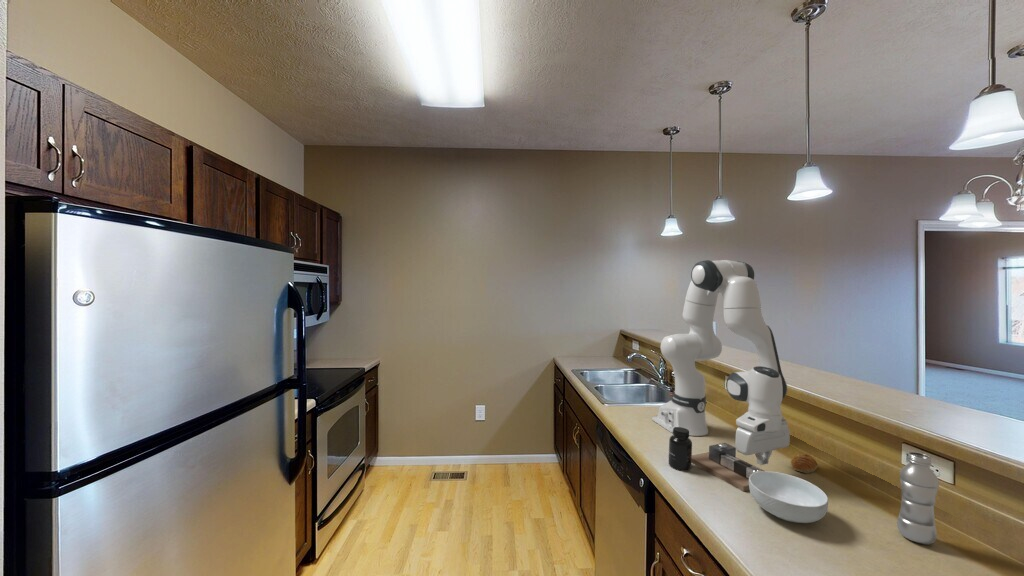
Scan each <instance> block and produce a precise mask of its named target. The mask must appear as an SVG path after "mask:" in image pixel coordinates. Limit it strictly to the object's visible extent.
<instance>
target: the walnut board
mask: <svg viewBox="0 0 1024 576" xmlns="http://www.w3.org/2000/svg"><path fill="white" fill-rule="evenodd" d="M736 458H737V459H739V460H742V461H744V462H746V463H748V464H750V465H752V466H753V467H756V468H758V469H760V470H761V471H765V470H764V469H762V468H760V467H757V466H756V465H754V464H752V463H750V462H747V461H745V460H743V459H741V458H739V457H737V456H736ZM691 464H693V465H694V464H695V465H694V466H696V467H698V468H700V469H701V470H703V469H704V470H703V471H705V472H707V473H709V474H710V475H713V476H715V477H716V478H718V479H720V480H721V481H723V482H725V483H727V484H729V485H730V486H733V488H734V487H735V489H738V490H740V491H741V492H747V491H750V489H749V479H748V478H745V477H743V476H741V475H740V474H738V473H736V472H734V471H733V470H731V469H729V468H727V467H725V466H723V465H719V464H717V463H715V462H713V461H711V460H709V451H708V452H702V453H699V454H694V455H693V454H692V460H691Z"/></svg>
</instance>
